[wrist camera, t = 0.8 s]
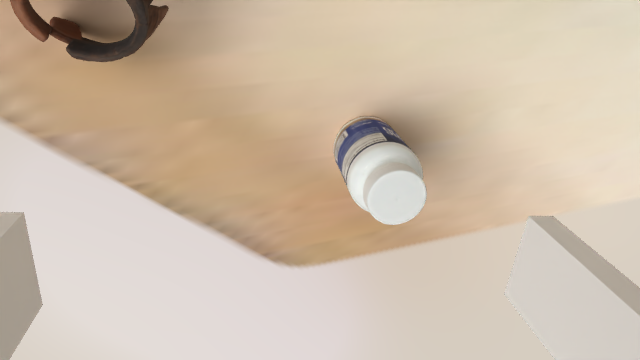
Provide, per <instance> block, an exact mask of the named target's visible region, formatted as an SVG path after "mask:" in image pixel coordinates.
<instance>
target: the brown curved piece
mask: <svg viewBox="0 0 640 360" xmlns="http://www.w3.org/2000/svg"><path fill="white" fill-rule="evenodd" d="M126 1H127V2H128V4H129V5H130V7H131V9H132V11H133V13H134V17H135V19H136V20H135V28H134V30H133V32H132V33H131V34H130V36H128V37H127V38H126V39H124V40H121V41H119V42H114V43H100V42H96V41H93V40H89V39H87V38H83V37H82V35H81V31H80V29H79V26H78V25H77V24H75V23H74V22H71V21H68V20H65V19H61V18H58V17H53V18H52V19H51V20H50V25H49V24H48V23H47V22H45V21H44V20H43V19H42V18H41V17H40V16H39V15H38V14H37V13H36V12H35V10H34V9H33V7H32V6H31V4H30V2H29V0H10V2H11V5H12V8H13V10H14V13H15V14H16V16H17V17H18V19H19V20H20V22H21V23H22V24H23V25H24V27H25V28H26V29H27V30H28V31H29V32H30V33H31V34H32V35H33V36H35V37H36V38H37V39H39V40H40V41H42V42H44V41H46V40H47V39H48V37H49V34H50V35H51V36H53V37H55V38H56V39H58V40H60V41H63V42H65V43H68V44H69V45H68V46H67V47H66V51H67V52H68V53H69V54H70V55H71V56H72V57H73V58H76V59H81V60H85V61H96V62H108V61H115V60H118V59H121V58H123V57H126V56H129V55H131V54H133V53H135V52H136V51H137V50H138V49H139V48H140V47H141V46H142V45H143V44H144V42H145V40H147V39H148V38H149V37H150V36H151V35H152V33H153V32H154V31H155V29H156V28H157V27H158V25H159V24H160V22H161V21H162V19H163V18H164V17H165V15H166V13H167V11H168V6H166V5H164V6H161V7H158V6H153V5H150V4H151V2H152V1H153V0H126Z"/></svg>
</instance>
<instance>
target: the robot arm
mask: <svg viewBox="0 0 640 360" xmlns="http://www.w3.org/2000/svg"><path fill="white" fill-rule="evenodd" d="M505 296H506V297H507V298H508V300H509V301H510V302H511V303H512V305H513V306H514V308H515V309H516V310H517V311H518V313H519V314H520V315H521V317H522V318H523V319H524V320H525V322H526V323H527V324H528V326H529V327H530V328H531V329H532V331H533V332H534V333H535V335H536V336H537V337H538V339H539V340H540V341H541V342H542V343H543V345H544V346H545V347H546V349H547V350H548V351H549V353H550V354H551V355H552V357H553V358H554V359H555V360H640V288H639V287H638V286H637V285H636V284H634V283H633V282H632V281H631V280H629V279H628V278H627V277H626V276H625V275H623V274H622V273H621V272H620V271H619V270H617V269H616V268H615V267H614V266H613V265H611V264H610V263H609V262H607V260H605V259H604V258H603V257H602V256H601V255H599V254H598V253H597V252H596V251H595V250H593V249H592V248H591V247H590V246H588V245H587V244H586V243H585V242H584V241H582V240H581V239H580V238H579V237H577V236H576V235H575V234H574V233H573V232H572V231H570V230H569V229H568V228H567V227H565V226H564V225H563V224H562V223H561V222H559V221H558V220H557V219H556V218H555V217H553V216H528V219H527V222H526V225H525V229H524V232H523V235H522V238H521V242H520V245H519V248H518V251H517V255H516V258H515V261H514V264H513V268H512V271H511V274H510V278H509V281H508V284H507V288H506V291H505ZM42 305H43V304H42V299H41V295H40V290H39V285H38V280H37V275H36V271H35V265H34V260H33V255H32V251H31V246H30V241H29V236H28V231H27V227H26V221H25V216H24V212H23V213H22V212H14V213H13V212H0V360H9V359H10V358H11V356H12V354H13V353H14V351H15V349H16V348H17V346H18V344H19V343H20V341H21V340H22V338H23V336H24V335H25V333H26V331H27V330H28V328H29V326H30V325H31V323H32V321H33V320H34V318H35V317H36V315H37V313H38V312H39V310H40V308H41V307H42Z"/></svg>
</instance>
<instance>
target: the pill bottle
mask: <svg viewBox="0 0 640 360" xmlns="http://www.w3.org/2000/svg"><path fill="white" fill-rule="evenodd" d="M333 151H334V157H335V161H336V163H337V165H338V167H339V169H340V172H341V174H342V176H343V178H344V181H345V183H346V185H347V188H348V190H349V192H350V194H351V196H352V198H353V200H354V201H355V202H356V203H357V205H358V206H360V207H361V208H362V209H364V210H366V211H368V212H370V213H371V215H372V216H373V217H374V218H375V219H376V220H378V221H380V222H382V223H384V224H390V225H396V224H401V223H405V222H407V221H409V220H411V219H412V218H414V217H415V216H416V215H417V214H418V213H419V212H420V211H421V209H422V208H423V206H424V204H425V201H426V196H427V193H426V186H425V184H424V182H423V171H422V167H421V164H420V161H419V160H418V158H417V156H416V155H415V154H414V152H413V151H412V150H411V149H410V148H409V147H408V146H407V145H406V144H405V142H404V141H403V140H402V139H401V138H400V137H399V136H398V134H397V133H396V132H395V131H394V130H393V129H392V128H391V127H390V126H389V125H388V124H387V123H386V122H384V121H383V120H381V119H379V118H376V117H359V118H356V119H354V120H352V121H350V122H348V123H347V124H346V125H344V126H343V127H342V128H341V130H340V131H339V132H338V134H337V136H336V138H335V142H334V148H333Z"/></svg>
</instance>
